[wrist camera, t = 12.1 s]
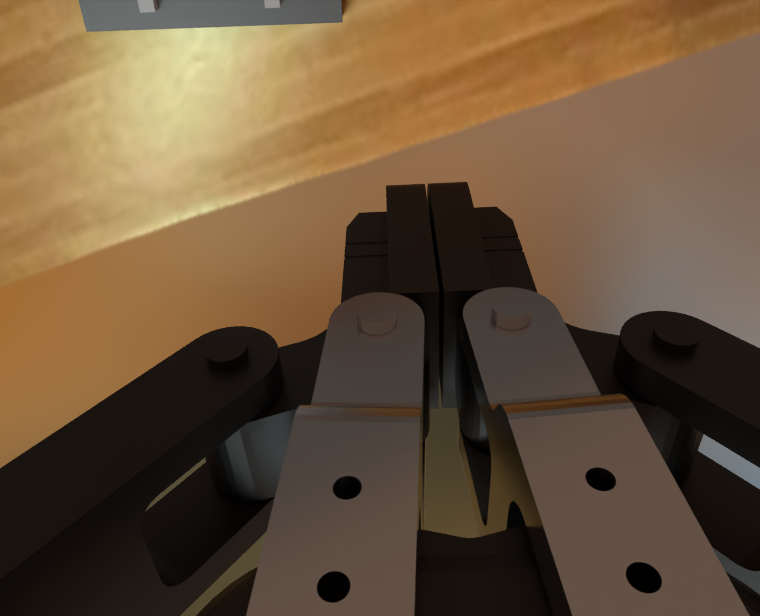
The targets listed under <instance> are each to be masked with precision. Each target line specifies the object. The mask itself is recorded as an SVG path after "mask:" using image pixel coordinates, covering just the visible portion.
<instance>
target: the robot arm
mask: <svg viewBox="0 0 760 616" xmlns="http://www.w3.org/2000/svg"><path fill="white" fill-rule="evenodd" d="M386 198H387V212H369V213H368V212H367V213H358V215H357V216H356V217H355V218H354V219H353V221H352V222H351V223H350V224H349V225H348V226H347V230H346V246H345V260H344V270H343V283H342V298H341V304H340V305H339V306H338V307H337V308H336V309H335V310H334V311H333V313H332V314H331V317H330V319H329V324H328V329H326V330H325V331H323V332H322V333H320V334H318V335H317V336H315V337H313V338H310V339H308V340H305V341H302V342H299V343H294V344H291V345H287V346H283V347H280V348H278V346H277V343H276V341H275V340H274V338H273V337H272V336H270V335H269V334H268V333H266V332H264V331H262V330H259V329H256V328H252V327H244V326H236V327H226V328H221V329H217V330H214V331H211V332H209V333H206V334H204V335H202V336H200V337H199V338H197V339H195V340H194V341H192V342H191V343H189V344H188V345H186V346H185V347H183V348H182V349H180V350H179V351H177V352H175V353H174V354H173V355H171V356H169V357H168V358H166V359H165V360H163V361H162V362H160V363H159V364H157V365H156V366H154V367H153V368H151V369H150V370H148V371H147V372H145V373H144V374H142V375H141V376H139V377H138V378H136V379H135V380H133V381H132V382H130V383H129V384H127V385H126V386H124V387H123V388H121V389H120V390H118V391H116V392H115V393H114V394H112V395H110V396H109V397H108V398H106V399H104V400H103V401H101V402H100V403H98V404H97V405H95V406H94V407H92V408H91V409H90V410H88V411H86V412H85V413H83V414H82V415H80V416H79V417H78V418H76V419H74V420H73V421H71V422H70V423H68V424H67V425H65V426H64V427H62V428H61V429H59V430H58V431H56V432H54V433H53V434H52V435H50V436H49V437H47V438H45V439H44V440H42V441H41V442H39V443H38V444H36V445H35V446H33V447H32V448H30V449H29V450H27V451H26V452H25V453H23V454H21V455H20V456H18V457H17V458H15V459H14V460H12V461H11V462H9V463H8V464H6V465H5V466H3V467H2V468H0V616H180V615H181V614H182V613H183V612H184V611H185V610H186V609H187V608H188V607H189V606H190V605H191V604H192V603H193V602H194V601H195V600H196V599H198V598H199V597H200V596H201V594H203V593H204V592H205V591H206V590H207V588H209V587H210V586H211V585H212V584H213V583H214V582H215V581H216V580H217V579H218V578H219V577H220V576H221V575H222V574H223V573H224V572H225V571H226V570H227V569H228V568H229V567H230V566H231V565H232V564H233V563H234V562H236V561H237V560H238V559H239V557H241V556H242V555H243V553H245V552H246V551H247V550H248V549H249V548H250V547H251V546H252V545H253V544H254V543H255V542H256V541H257V540H258V539H259V538H260V537H261V536H262V535H263V534H264V533H265V532H266V531H267V532H266V536H265V540H264V544H263V548H262V552H261V556H260V561H259V565H258V567H257V568H255V569H253V570H251V571H249V572H248V573H246V574H245V575H243V576H242V577H240V578H239V579H237V580H236V581H234V582H233V583H231V584H230V585H229V586H227V587H226V588H225V589H224V590H223V591H222V592H220V593H219V594H218V595H217V596H215V597H214V598H213V599H212V600H211V601H210V602H209V603H208V604H207V605H206V606H205V607H204V608H203V609H202V610H201V611H200V612H199V614H198V615H196V616H760V489H758V488H756V487H755V486H753V485H752V484H750V483H748V482H747V481H745V480H744V479H742V478H740V477H739V476H737V475H736V474H734V473H732V472H731V471H729V470H727V469H726V468H724V467H723V466H721V465H719V464H718V463H716V462H715V461H713V460H712V459H710V458H708V457H707V456H705V455H703V454H702V453H700V452H699V451H698V448H699V445H700V442H701V440H702V437H703V434H705V435H707V436H708V437H710V438H711V439H713V440H715V441H716V442H718V443H720V444H721V445H723V446H725V447H726V448H728V449H730V450H731V451H733V452H735V453H736V454H738V455H740V456H741V457H743V458H745V459H746V460H748V461H750V462H751V463H753V464H755V465H756V466H758V467H759V468H760V348H758V347H756V346H754V345H752V344H750V343H747V342H746V341H743V340H741V339H739V338H737V337H735V336H733V335H731V334H729V333H727V332H725V331H723V330H721V329H719V328H717V327H715V326H712V325H710V324H708V323H706V322H704V321H702V320H700V319H697V318H695V317H692V316H689V315H686V314H681V313H676V312H669V311H652V312H646V313H641V314H638V315H635V316H634V317H632V318H630V319H629V320H627V321H626V322H625V323H624V325H623V326H622V329H621V332H620V336H619V335H613V334H607V333H601V332H595V331H589V330H585V329H581V328H578V327H574V326H571V325H569V324H567V323H565V322H564V321H563V319H562V317H561V315H560V313H559V311H558V309H557V308H556V306H555V305H554V304H553V303H552V302H551V301H550V300H549V299H547V298H546V297H544V296H542V295H540V294H538V293H537V290H536V287H535V284H534V281H533V278H532V275H531V272H530V269H529V267H528V264H527V261H526V258H525V255H524V252H522V246H521V243H520V240H519V239H518V234H517V232H516V229H515V226H514V223H513V220H512V219H511V218H509V217H508V216H507V215H506V214H505V213H503V212H502V211H501V210H500V209H498V208H497V207H479V208H474V206H473V202H472V198H471V194H470V190H469V187H468V183H467V182H455V183H432V184H428V187H427V196H426V188H425V184H412V185H390V186H386ZM439 382H440V390H441V398H442V408H455V407H457V409H458V417H459V438H458V445H459V451H460V456H461V460H462V464H463V469H464V473H465V477H466V482H467V486H468V490H469V494H470V499H471V503H472V508H473V512H474V516H475V521H476V525H477V529H478V534H479V537H477V538H463V537H457V536H452V535H447V534H441V533H437V532H432V531H427V530H424V507H425V504H424V503H425V458H426V442H425V441H426V437H427V435H428V433H429V425H430V413H429V412H430V410H429V409H435V408H438V394H439V388H438V387H439ZM203 458H206V463H204V464H203V465H202V466H201V467H199V468H198V469H197V470H196V471H195V472H193V473H192V474H191V475H190V476H189V477H187V478H186V479H185V480H184V481H182V482H181V483H180V484H179V485H178V486H176V487H175V488H174V489H173V490H171V491H170V492H169V493H168V494H167V495H166V496H164V497H163V498H162V499H160V500H159V501H158V502H157V503H156V504H154V505H153V506H152V507H151V508H149V509H148V510H147V511H146V512H145V510H146V509H147V507H148V506H149V504H150V503H151V502H152V501H153V500H154V499H155V498H156V497H157V496H158V495H159V494H160V493H161V492H163V491H164V490H165V489H166V488H167V487H169V486H170V485H171V484H173V483H174V482H175V481H176V480H177V479H179V478H180V477H181V476H182V475H183V474H185V473H186V472H187V471H189V470H190V469H191V468H192V467H193V466H195V464H197V463H198V462H200V461H201V460H202V459H203ZM144 512H145V513H144Z"/></svg>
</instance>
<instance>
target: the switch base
mask: <svg viewBox="0 0 760 616" xmlns="http://www.w3.org/2000/svg"><path fill="white" fill-rule="evenodd" d="M79 3H80V7H81V11H82V15H83V19H84V23H85V27H86V31H87V32H93V31H120V30H147V29H175V28H202V27H230V26H257V25H284V24H312V23H339V22H343V20H342V1H341V0H79Z"/></svg>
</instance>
